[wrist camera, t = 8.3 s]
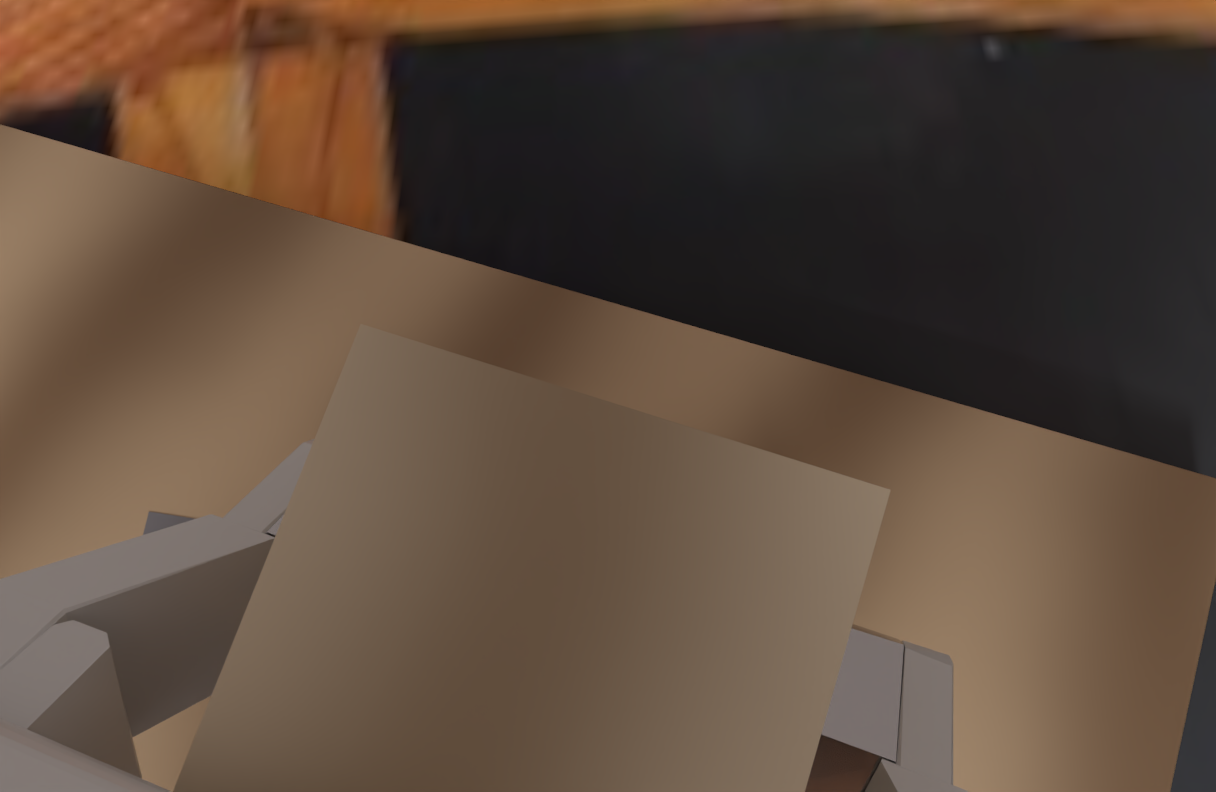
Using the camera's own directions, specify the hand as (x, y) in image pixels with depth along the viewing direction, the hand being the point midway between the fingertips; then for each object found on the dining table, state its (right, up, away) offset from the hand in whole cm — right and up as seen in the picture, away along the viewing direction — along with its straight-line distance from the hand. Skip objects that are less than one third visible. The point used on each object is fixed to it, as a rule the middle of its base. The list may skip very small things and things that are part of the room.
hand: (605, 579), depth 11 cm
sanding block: (0, -2, +5) cm, 5 cm away
